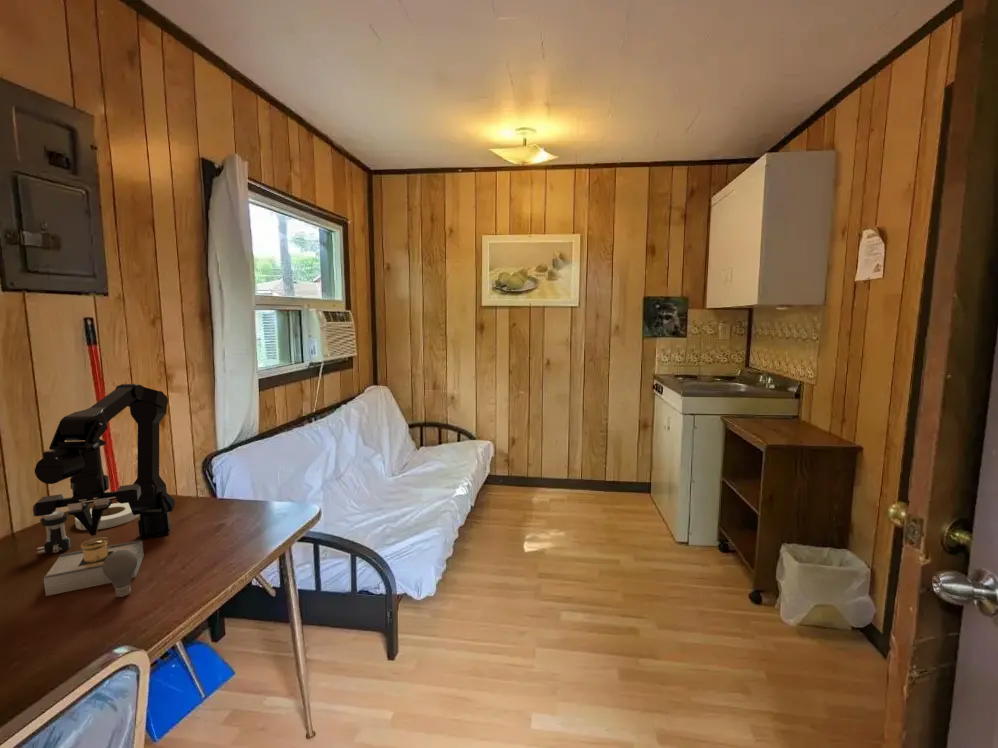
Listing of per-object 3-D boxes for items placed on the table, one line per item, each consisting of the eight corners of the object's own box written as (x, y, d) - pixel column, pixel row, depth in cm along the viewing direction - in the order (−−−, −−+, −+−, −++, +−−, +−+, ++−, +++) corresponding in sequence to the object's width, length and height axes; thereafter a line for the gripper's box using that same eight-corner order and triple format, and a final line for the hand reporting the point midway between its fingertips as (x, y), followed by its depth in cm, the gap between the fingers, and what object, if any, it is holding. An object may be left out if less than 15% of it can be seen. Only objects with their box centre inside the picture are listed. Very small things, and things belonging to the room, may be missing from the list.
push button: (34, 558, 128) (29, 519, 127) (41, 549, 133) (36, 512, 132) (68, 552, 131) (63, 514, 130) (74, 544, 136) (69, 507, 135)
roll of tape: (105, 510, 160) (104, 501, 160) (152, 510, 160) (151, 501, 160) (61, 531, 145) (60, 521, 145) (113, 531, 144) (112, 521, 144)
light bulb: (135, 585, 114) (130, 542, 113) (144, 594, 111) (139, 550, 109) (102, 596, 110) (97, 552, 109) (110, 606, 106) (105, 560, 105)
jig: (143, 556, 128) (141, 539, 128) (135, 577, 118) (133, 559, 117) (62, 571, 121) (60, 554, 121) (45, 596, 110) (43, 577, 110)
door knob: (113, 567, 123) (110, 535, 122) (109, 576, 118) (105, 543, 117) (87, 572, 120) (83, 540, 120) (82, 582, 116) (77, 548, 115)
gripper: (141, 455, 128) (147, 515, 130) (45, 466, 119) (53, 530, 121) (133, 466, 118) (140, 531, 120) (28, 480, 109) (37, 549, 111)
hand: (94, 534), depth 118 cm, fingers closed
